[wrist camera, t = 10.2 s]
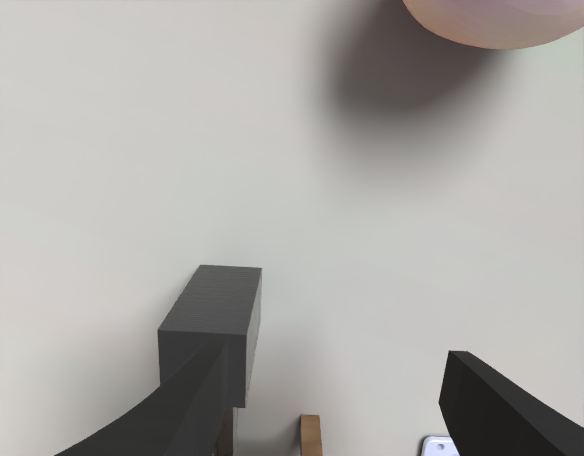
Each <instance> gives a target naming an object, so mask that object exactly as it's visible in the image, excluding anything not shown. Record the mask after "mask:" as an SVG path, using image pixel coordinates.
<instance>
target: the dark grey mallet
mask: <svg viewBox="0 0 584 456" xmlns="http://www.w3.org/2000/svg"><path fill="white" fill-rule="evenodd" d="M261 282H262V268H251V267H233V266H214V265H200V266H199V268H198V269H197V271H196V272H195V274H194V275H193V277H192V278H191V280H190V281H189V283H188V284H187V286H186V287H185V289H184V291H183V292H182V294H181V295H180V297H179V298H178V300H177V301H176V303H175V304H174V306H173V307H172V309H171V310H170V312H169V313H168V315H167V316H166V318H165V320H164V321H163V323H162V324H161V326H160V327H159V329H158V347H159V365H160V383H161V385H162V384H163V383H164V382H165V381H167V380H168V379H169V378H170V377H171V376H172V375H173V374H174V373H175V372H176V371H177V370H178V369H179V368H180V367H181V366H182V365H183V364H184V363H185V362H186V361H187V360H188V359H189V358H190V357H191V356H192V355H193V354H194V353H195V352H196V351H197V350H198V349H199V348H200V347H201V346H202V344H203V343H204V342H205V341H206V340H208V339H209V338H213V339H228V387H227V398H226V403H225V408H224V414H223V419H222V423H221V427H220V430H219V433H218V437H217V456H237V413H238V408H245V406H246V401H247V395H248V389H249V383H250V378H251V372H252V366H253V361H254V355H255V349H256V343H257V338H258V332H259V326H260V312H261Z"/></svg>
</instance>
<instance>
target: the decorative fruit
mask: <svg viewBox="0 0 584 456" xmlns="http://www.w3.org/2000/svg"><path fill="white" fill-rule="evenodd" d="M403 2H404V4H405V6H406V7H407V9H408V10H409V12H410V13H411V14H412V16H413V17H414V18H415V19H416V20H417V21H418V22H419V23H420V24H421V25H422V26H424V27H425V28H426V29H428V30H429V31H431V32H433V33H435V34H436V35H439V36H441V37H443V38H446V39H449V40H452V41H455V42H457V43H461V44H465V45H470V46H475V47H481V48H488V49H521V48H528V47H533V46H538V45H542V44H546V43H549V42H552V41H555V40H557V39H559V38H561V37H564V36H566V35H568V34H570V33H572V32H574V31H576V30H578V29H580V28H581V27H583V26H584V0H403Z"/></svg>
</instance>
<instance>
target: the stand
mask: <svg viewBox="0 0 584 456" xmlns="http://www.w3.org/2000/svg"><path fill="white" fill-rule="evenodd" d="M300 453H301V456H323V455H322V443H321V431H320V419H319V416H316V415H301V424H300Z"/></svg>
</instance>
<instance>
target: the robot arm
mask: <svg viewBox="0 0 584 456" xmlns="http://www.w3.org/2000/svg"><path fill="white" fill-rule="evenodd" d="M227 387H228V339H213V338H209V339H208V340H206V341H205V342H204V343H203V344H202V346H201V347H200V348H199V349H198V350H197V351H196V352H195V353H194V354H193V355H192V356H191V357H190V358H189V359H188V360H187V361H186V362H185V363H184V364H183V365H182V366H181V367H180V368H179V369H178V370H177V371H176V372H175V373H174V374H173V375H172V376H171V377H170V378H169V379H168V380H167V381H165V382H164V383H163V384H162V385H161V386H160V387H158V388H157V389H156V390H155V391H154V392H153V393H152V394H150V395H149V396H148V397H147V398H146V399H144V400H143V401H142V402H141V403H139V404H138V405H137V406H135V407H134V408H132V409H131V410H130V411H128V412H127V413H126V414H124V415H123V416H121V417H120V418H118V419H117V420H115V421H114V422H112V423H110V424H109V425H107V426H106V427H104V428H102V429H101V430H99V431H98V432H96V433H94V434H93V435H91V436H90V437H88V438H86V439H84V440H83V441H81V442H79V443H77V444H75V445H73V446H72V447H70V448H68V449H66V450H64V451H62V452H60V453H58V454H56V455H54V456H212V453H213V450H214V447H215V443H216V440H217V437H218V433H219V430H220V427H221V423H222V419H223V414H224V408H225V403H226V398H227ZM439 406H440V409H441V412H442V415H443V418H444V421H445V424H446V426H447V429H448V432H449V434H450V437H434V436H431V437H427V438H426V439H425V440H424V443H423V448H422V453H421V456H584V428H583V427H581V426H580V425H578V424H576V423H575V422H573V421H571V420H569V419H568V418H566V417H565V416H563V415H561V414H560V413H558V412H557V411H555V410H554V409H552V408H550V407H549V406H547V405H546V404H544V403H543V402H541V401H540V400H538V399H537V398H535V397H534V396H532V395H531V394H529V393H528V392H526V391H525V390H523V389H522V388H520V387H519V386H518V385H516V384H515V383H513V382H512V381H510V380H509V379H508V378H506V377H505V376H503V375H502V374H501V373H499V372H498V371H496V370H495V369H493V368H492V367H491V366H489V365H488V364H486V363H485V362H483V361H482V360H480V359H479V358H477V357H476V356H474V355H473V354H471V353H469V352H468V351H449V353H448V358H447V363H446V368H445V373H444V378H443V383H442V388H441V393H440V398H439ZM439 444H441V445H439Z"/></svg>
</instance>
